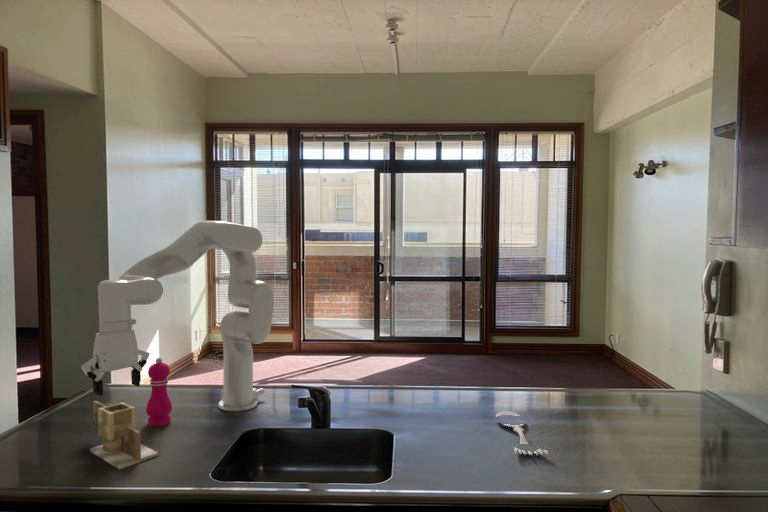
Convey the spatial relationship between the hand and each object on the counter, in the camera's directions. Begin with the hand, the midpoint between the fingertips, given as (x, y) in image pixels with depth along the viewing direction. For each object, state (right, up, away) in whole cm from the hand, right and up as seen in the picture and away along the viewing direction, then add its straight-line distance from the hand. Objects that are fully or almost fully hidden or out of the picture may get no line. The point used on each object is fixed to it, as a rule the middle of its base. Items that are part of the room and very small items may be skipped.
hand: (117, 389), depth 140 cm
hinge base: (+3, -16, -2) cm, 17 cm away
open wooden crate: (-4, -12, +3) cm, 13 cm away
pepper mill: (+3, -15, +19) cm, 25 cm away
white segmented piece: (+110, -18, +13) cm, 112 cm away
